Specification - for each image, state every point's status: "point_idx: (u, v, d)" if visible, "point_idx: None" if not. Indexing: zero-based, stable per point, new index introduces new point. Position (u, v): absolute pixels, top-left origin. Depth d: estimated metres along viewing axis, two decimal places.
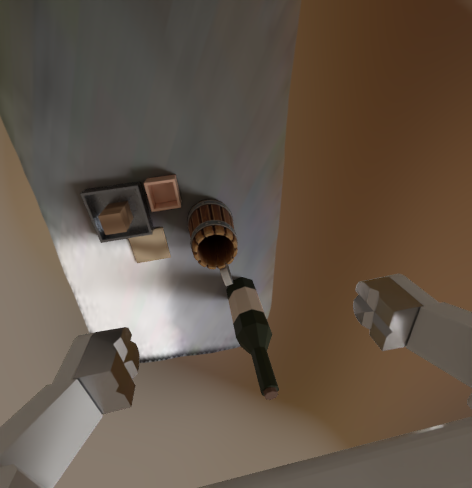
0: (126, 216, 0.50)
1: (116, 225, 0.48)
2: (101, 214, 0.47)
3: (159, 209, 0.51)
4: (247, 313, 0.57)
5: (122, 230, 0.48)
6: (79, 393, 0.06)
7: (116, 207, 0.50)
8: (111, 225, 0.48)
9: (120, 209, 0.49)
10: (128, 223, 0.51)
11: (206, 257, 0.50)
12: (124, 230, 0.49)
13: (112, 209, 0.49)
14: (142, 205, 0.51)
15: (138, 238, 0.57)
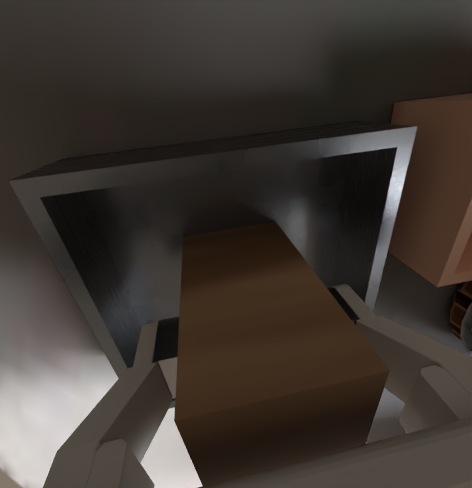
0: None
1: (311, 447, 0.06)
2: (191, 371, 0.05)
3: None
4: None
5: None
6: (158, 376, 0.07)
7: (261, 273, 0.08)
8: (275, 455, 0.06)
9: (315, 299, 0.06)
10: None
11: None
12: None
13: (250, 295, 0.07)
14: (381, 250, 0.09)
15: None
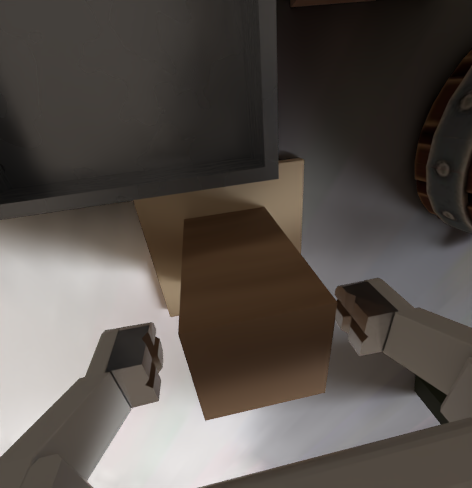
0: None
1: (283, 372, 0.07)
2: (190, 307, 0.07)
3: None
4: None
5: (306, 390, 0.08)
6: (111, 386, 0.06)
7: (248, 244, 0.09)
8: (255, 377, 0.07)
9: (289, 260, 0.08)
10: None
11: None
12: (316, 389, 0.08)
13: (238, 259, 0.08)
14: None
15: (184, 210, 0.12)
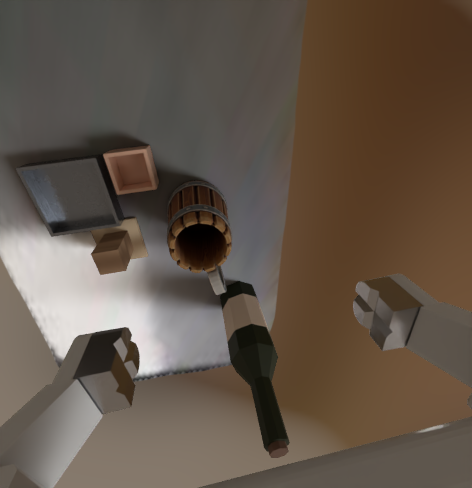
0: (125, 251, 0.42)
1: (113, 263, 0.40)
2: (94, 251, 0.39)
3: (127, 191, 0.38)
4: (246, 329, 0.44)
5: (120, 269, 0.40)
6: (79, 393, 0.06)
7: (113, 240, 0.41)
8: (107, 264, 0.39)
9: (117, 243, 0.40)
10: (128, 258, 0.42)
11: (189, 256, 0.36)
12: (123, 269, 0.40)
13: (108, 243, 0.41)
14: (104, 186, 0.38)
15: (104, 231, 0.44)
